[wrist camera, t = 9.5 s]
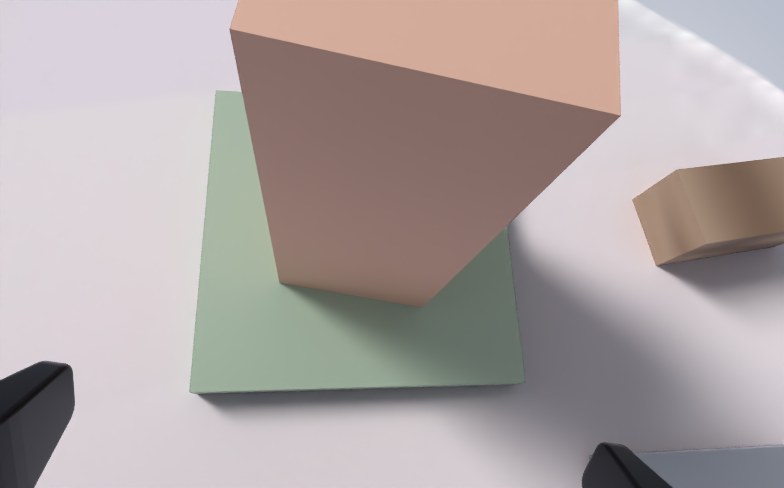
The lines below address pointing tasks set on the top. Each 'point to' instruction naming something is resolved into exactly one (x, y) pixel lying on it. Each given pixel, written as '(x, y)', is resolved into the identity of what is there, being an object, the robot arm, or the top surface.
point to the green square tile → (331, 305)
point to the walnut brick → (714, 210)
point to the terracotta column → (414, 127)
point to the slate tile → (719, 467)
